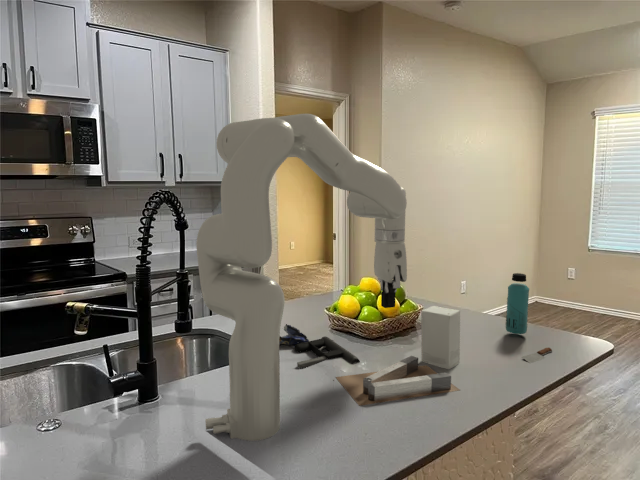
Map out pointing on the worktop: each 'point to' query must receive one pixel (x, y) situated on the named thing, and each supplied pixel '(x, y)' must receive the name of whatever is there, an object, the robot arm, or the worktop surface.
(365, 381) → the tongs arm
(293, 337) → the snack package
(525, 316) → the beverage bottle
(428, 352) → the skincare box
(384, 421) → the worktop surface
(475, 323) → the worktop surface
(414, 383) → the arm
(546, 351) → the cleaver
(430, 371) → the cutting board
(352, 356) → the black submachine gun
